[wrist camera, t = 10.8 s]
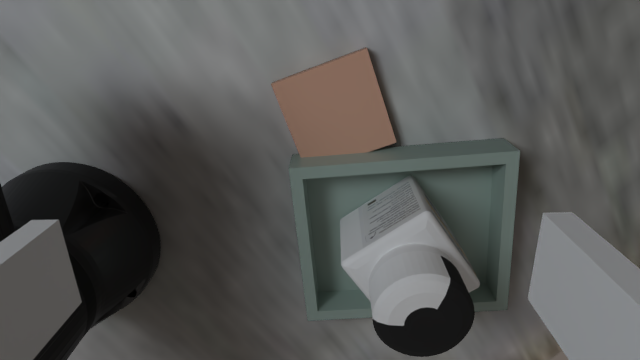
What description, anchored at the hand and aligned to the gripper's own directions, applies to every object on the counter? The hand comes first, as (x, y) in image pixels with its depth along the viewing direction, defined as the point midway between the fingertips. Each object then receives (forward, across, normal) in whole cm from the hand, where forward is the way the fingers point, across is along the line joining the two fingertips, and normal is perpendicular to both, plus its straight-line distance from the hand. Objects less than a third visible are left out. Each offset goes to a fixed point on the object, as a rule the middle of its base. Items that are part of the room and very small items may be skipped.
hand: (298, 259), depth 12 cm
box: (+25, +7, -12) cm, 29 cm away
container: (+25, +7, -12) cm, 29 cm away
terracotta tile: (+25, +1, -2) cm, 25 cm away
